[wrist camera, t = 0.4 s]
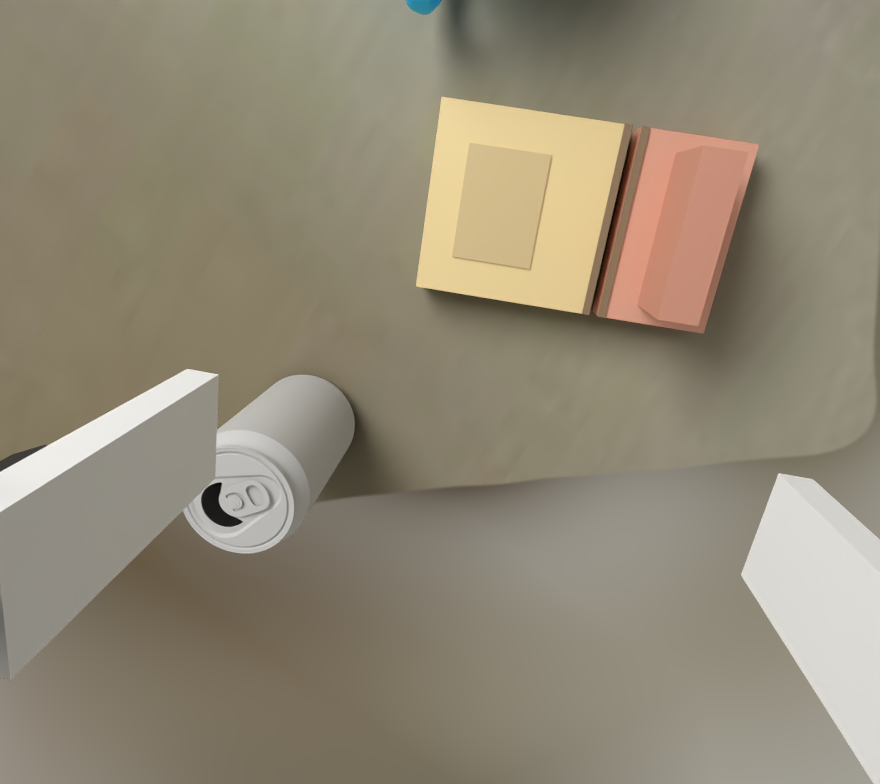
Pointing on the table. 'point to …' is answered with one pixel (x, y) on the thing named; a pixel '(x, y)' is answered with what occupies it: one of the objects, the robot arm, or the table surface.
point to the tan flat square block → (520, 204)
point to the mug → (423, 5)
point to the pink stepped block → (672, 228)
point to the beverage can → (273, 464)
